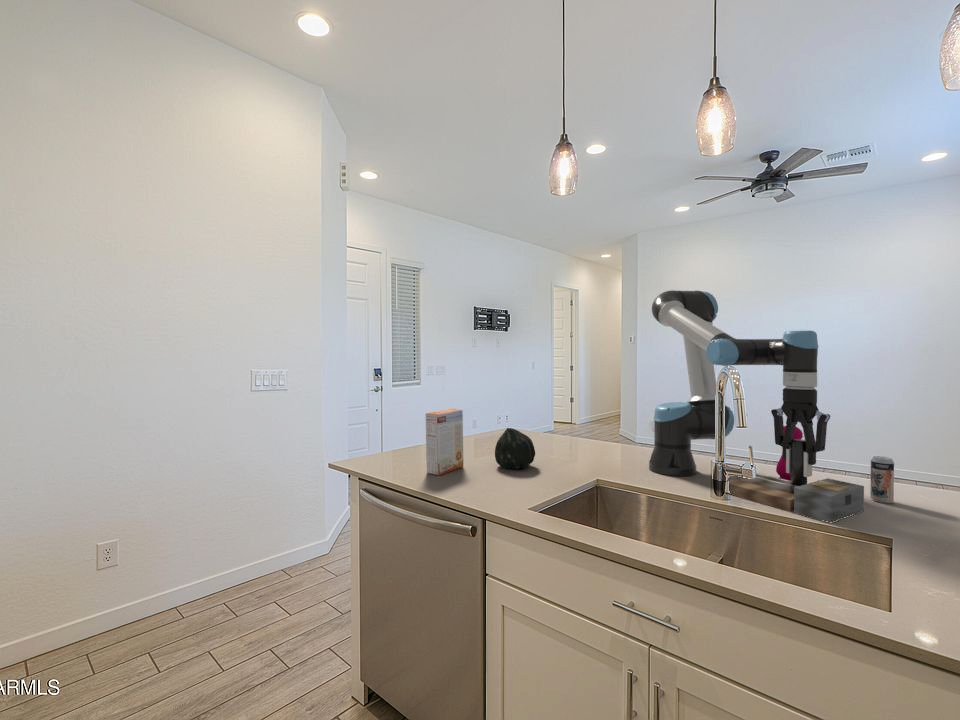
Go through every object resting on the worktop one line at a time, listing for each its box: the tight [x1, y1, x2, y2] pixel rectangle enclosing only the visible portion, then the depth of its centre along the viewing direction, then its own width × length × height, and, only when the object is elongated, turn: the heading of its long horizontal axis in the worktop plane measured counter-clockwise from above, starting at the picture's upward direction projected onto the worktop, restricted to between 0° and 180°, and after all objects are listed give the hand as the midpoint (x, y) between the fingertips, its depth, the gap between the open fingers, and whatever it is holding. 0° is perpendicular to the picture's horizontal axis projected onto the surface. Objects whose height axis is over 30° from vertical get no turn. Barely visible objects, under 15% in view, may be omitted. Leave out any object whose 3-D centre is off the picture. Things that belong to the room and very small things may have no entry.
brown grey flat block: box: [728, 472, 865, 522], centre depth 121 cm, size 27×17×7 cm, turn 28°
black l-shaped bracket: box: [784, 439, 808, 492], centre depth 116 cm, size 12×4×14 cm, turn 28°
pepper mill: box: [775, 425, 804, 481], centre depth 135 cm, size 7×7×20 cm
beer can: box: [869, 455, 895, 505], centre depth 120 cm, size 5×5×12 cm
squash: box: [494, 427, 536, 470], centre depth 158 cm, size 14×15×15 cm
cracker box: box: [425, 408, 464, 476], centre depth 154 cm, size 14×6×21 cm, turn 144°
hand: (798, 474), depth 119 cm, fingers closed on black l-shaped bracket, 4 cm apart
